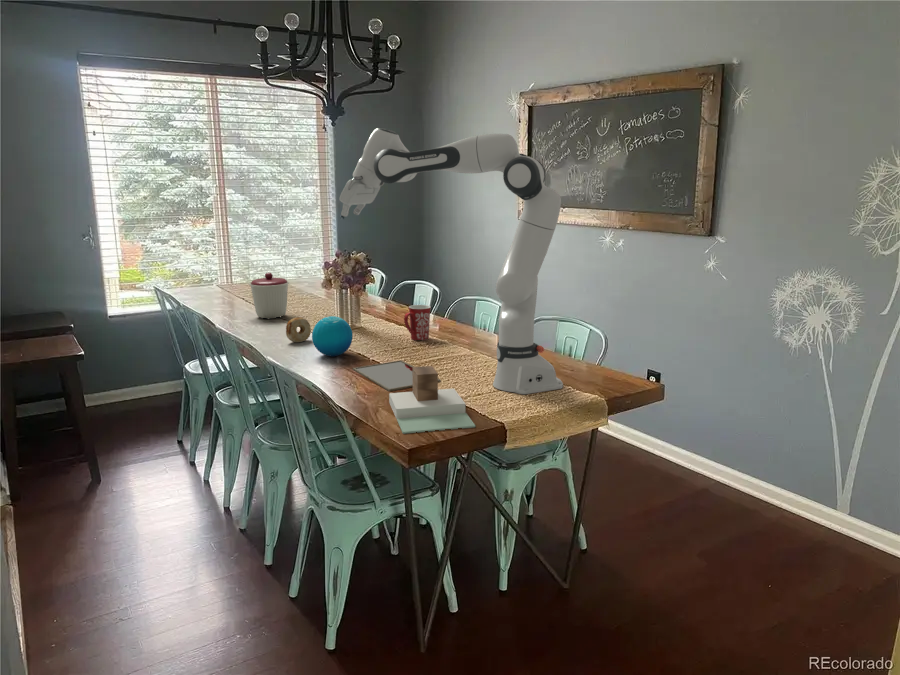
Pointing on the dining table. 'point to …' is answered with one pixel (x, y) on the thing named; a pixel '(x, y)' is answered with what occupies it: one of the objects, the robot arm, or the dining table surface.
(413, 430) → the mat
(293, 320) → the stone disc
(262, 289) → the canister
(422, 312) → the mug
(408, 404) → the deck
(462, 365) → the dining table surface
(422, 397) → the walnut block
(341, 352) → the decorative orb
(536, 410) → the dining table surface
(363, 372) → the picture frame
